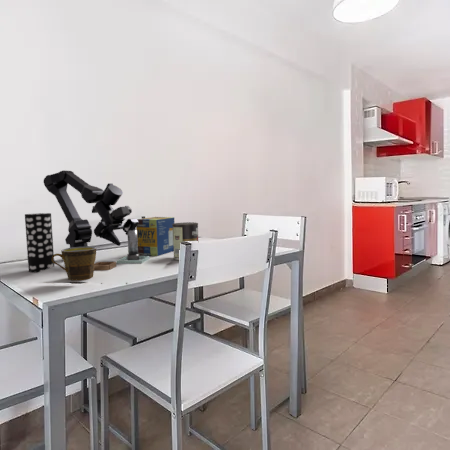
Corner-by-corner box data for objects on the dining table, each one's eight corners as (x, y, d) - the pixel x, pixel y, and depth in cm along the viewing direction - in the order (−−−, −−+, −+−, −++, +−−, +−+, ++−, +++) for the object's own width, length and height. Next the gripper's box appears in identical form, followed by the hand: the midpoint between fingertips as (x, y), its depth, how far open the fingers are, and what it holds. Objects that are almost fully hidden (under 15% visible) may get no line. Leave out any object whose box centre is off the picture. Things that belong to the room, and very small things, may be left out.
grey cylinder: (127, 263, 139) (126, 231, 138) (127, 261, 143) (125, 230, 142) (140, 262, 140) (138, 230, 139) (139, 260, 144) (137, 229, 143)
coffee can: (202, 256, 155) (201, 222, 154) (195, 260, 145) (194, 224, 143) (178, 255, 157) (177, 222, 156) (169, 260, 147) (168, 224, 146)
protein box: (136, 255, 161) (135, 219, 160) (156, 249, 175) (155, 216, 174) (157, 256, 157) (156, 219, 156) (176, 250, 171) (174, 216, 170)
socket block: (90, 272, 126) (90, 265, 126) (99, 268, 133) (98, 261, 133) (109, 272, 126) (109, 265, 126) (117, 268, 132) (116, 261, 132)
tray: (116, 266, 137) (116, 260, 137) (126, 261, 147) (125, 256, 147) (142, 265, 136) (141, 260, 136) (149, 261, 146) (149, 256, 146)
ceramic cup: (90, 275, 122) (88, 245, 121) (103, 281, 114) (101, 248, 113) (48, 283, 113) (46, 250, 112) (59, 289, 106) (56, 253, 105)
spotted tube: (28, 273, 128) (24, 215, 126) (28, 269, 135) (24, 213, 134) (55, 270, 132) (51, 213, 130) (53, 266, 139) (50, 212, 137)
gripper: (97, 199, 135) (120, 231, 131) (134, 198, 151) (156, 226, 147) (84, 220, 140) (105, 252, 135) (121, 217, 156) (141, 245, 151)
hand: (128, 243), depth 142 cm, fingers open, 9 cm apart
